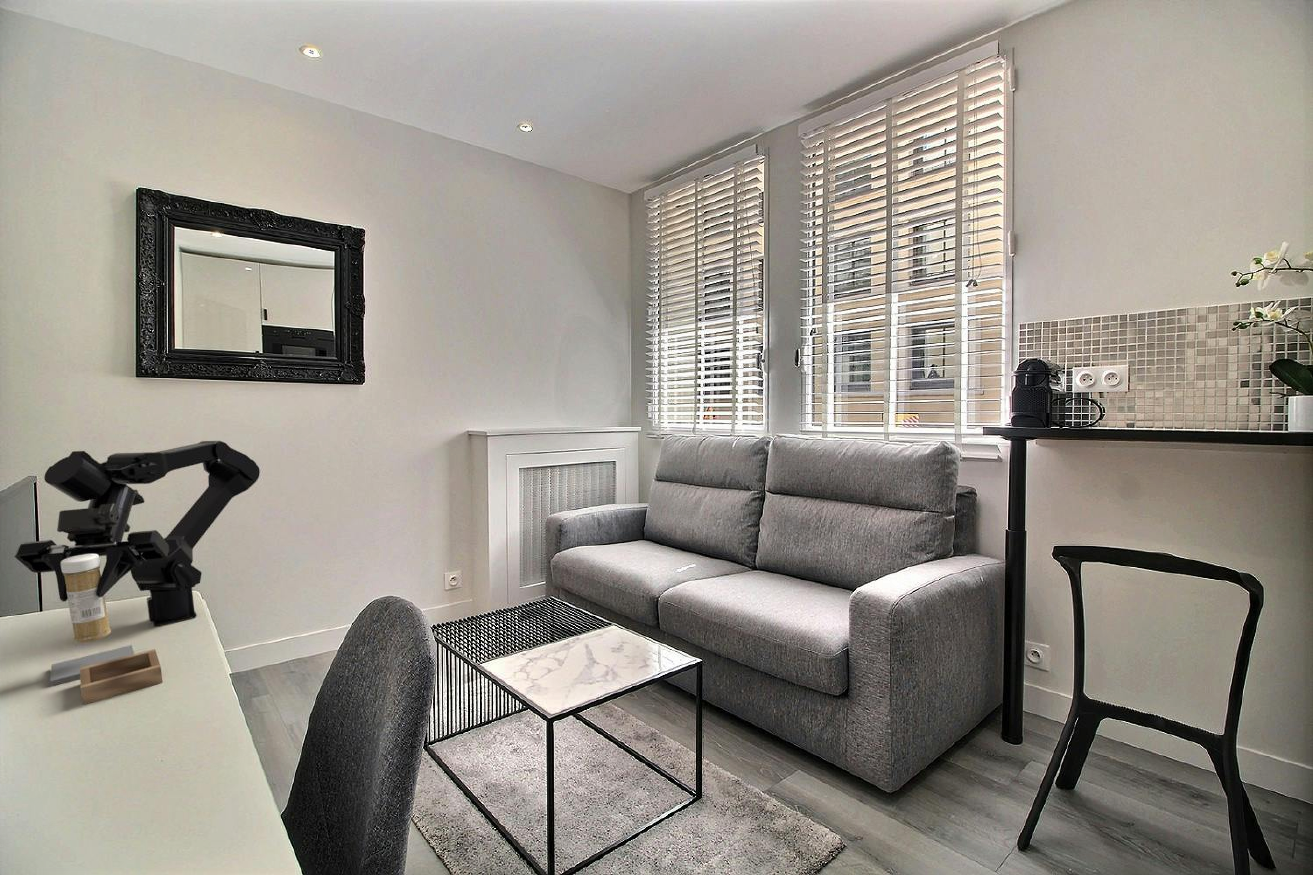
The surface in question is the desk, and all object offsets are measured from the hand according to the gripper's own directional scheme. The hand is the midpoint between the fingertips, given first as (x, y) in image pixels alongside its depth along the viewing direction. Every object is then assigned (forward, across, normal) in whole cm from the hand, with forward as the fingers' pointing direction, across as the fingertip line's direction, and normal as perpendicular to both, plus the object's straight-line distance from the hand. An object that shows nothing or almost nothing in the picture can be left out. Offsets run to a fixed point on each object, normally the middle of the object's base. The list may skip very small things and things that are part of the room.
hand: (80, 598), depth 100 cm
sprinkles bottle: (+4, 0, +6) cm, 7 cm away
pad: (+8, 0, +9) cm, 12 cm away
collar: (+14, +7, +3) cm, 16 cm away
